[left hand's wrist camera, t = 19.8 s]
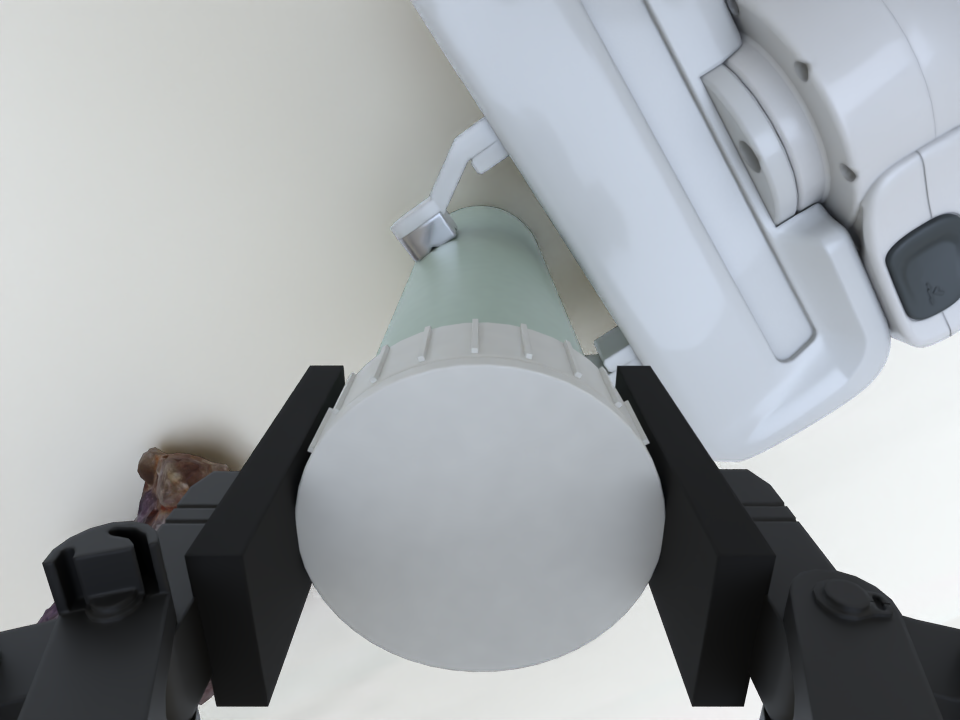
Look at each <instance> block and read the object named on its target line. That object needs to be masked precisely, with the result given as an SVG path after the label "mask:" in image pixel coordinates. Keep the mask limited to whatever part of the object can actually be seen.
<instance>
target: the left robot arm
mask: <svg viewBox="0 0 960 720" xmlns="http://www.w3.org/2000/svg"><path fill="white" fill-rule="evenodd" d="M344 386H345V378H344V367H343V366H310V367H309V368H308V370H307V371H306V373H305V374H304V376H303V377H302V379H301V380H300V382H299V383H298V385H297V386H296V388H295V389H294V391H293V392H292V394H291V395H290V397H289V398H288V400H287V401H286V403H285V404H284V406H283V407H282V409H281V410H280V412H279V413H278V415H277V416H276V418H275V419H274V421H273V422H272V424H271V425H270V427H269V429H268V430H267V432H266V433H265V435H264V436H263V438H262V439H261V441H260V442H259V444H258V445H257V447H256V448H255V450H254V451H253V453H252V454H251V456H250V457H249V459H248V460H247V462H246V463H245V465H244V466H243V468H242V469H241V471H213V472H212V473H210V474H209V475H207V476H206V477H204V478H203V479H201V480H200V481H198V482H197V483H195V484H194V485H192V486H191V487H190V488H189V489H188V491H187V492H186V493H185V495H184V496H183V497H182V499H181V500H180V501H179V502H178V504H177V508H174V509H173V510H172V512H171V513H170V514H169V515H168V517H167V518H166V519H165V524H162V525H161V526H160V527H159V529H158V530H157V531H156V530H155V529H153V528H152V527H151V526H150V525H148V524H144V523H139V522H134V521H126V522H112V523H108V524H105V525H101V526H97V527H93V528H90V529H88V530H86V531H83V532H81V533H79V534H77V535H75V536H72V537H70V538H69V539H67V540H66V541H65V542H63V543H62V544H60V545H59V546H58V547H56V548H55V549H53V550H52V551H51V553H50V554H49V555H48V557H47V558H46V559H45V560H44V562H43V563H42V564H43V567H44V570H45V574H46V577H47V580H48V583H49V586H50V589H51V592H52V595H53V599H54V602H55V605H56V608H57V611H58V614H59V615H58V618H57V619H53V620H50V621H47V622H42V623H38V624H34V625H29V626H25V627H20V628H16V629H11V630H7V631H2V632H0V720H200V715H199V711H198V704H199V702H200V700H201V698H202V696H203V694H204V692H205V690H206V688H207V685H208V683H209V681H210V679H211V683H212V687H213V692H214V697H215V701H216V706H217V707H268V705H269V703H270V700H271V697H272V694H273V691H274V689H275V686H276V683H277V680H278V677H279V674H280V672H281V669H282V666H283V663H284V660H285V658H286V655H287V652H288V649H289V646H290V643H291V641H292V638H293V635H294V632H295V629H296V627H297V624H298V621H299V618H300V615H301V612H302V610H303V607H304V604H305V601H306V598H307V596H308V593H309V590H310V587H311V584H312V581H311V579H310V577H309V575H308V573H307V571H306V569H305V567H304V563H303V560H302V557H301V554H300V550H299V543H298V535H297V528H296V519H295V505H296V499H297V493H298V487H299V484H300V481H301V477H302V474H303V471H304V468H305V466H306V464H307V462H308V460H309V458H310V456H311V454H312V453H311V452H308V448H309V446H310V444H311V442H312V440H313V438H314V436H315V434H316V432H317V430H318V428H319V426H320V424H321V422H322V420H323V419H324V417H325V415H326V413H327V411H328V409H329V407H330V408H332V409H333V408H334V406H335V404H336V402H337V400H338V398H339V396H340V394H341V392H342V390H343V388H344ZM615 388H616V390H617V391H618V393H619V395H620V396H621V398H622V400H623V402H625V401H627V400H628V401H629V403H630V405H631V407H632V409H633V411H634V413H635V415H636V417H637V419H638V421H639V423H640V425H641V427H642V429H643V431H644V433H645V435H646V437H647V439H648V441H649V444H647V445H645V446H646V448H647V450H648V452H649V454H650V456H651V458H652V460H653V463H654V465H655V468H656V470H657V473H658V475H659V478H660V481H661V486H662V490H663V495H664V499H665V524H664V532H663V539H662V546H661V553H660V557H659V560H658V563H657V565H656V568H655V570H654V572H653V574H652V577H651V579H650V581H649V582H648V583H649V586H650V589H651V592H652V594H653V597H654V600H655V603H656V606H657V609H658V611H659V614H660V617H661V620H662V623H663V625H664V628H665V631H666V634H667V637H668V640H669V642H670V645H671V648H672V651H673V654H674V656H675V659H676V662H677V665H678V668H679V671H680V673H681V676H682V679H683V682H684V685H685V687H686V690H687V693H688V696H689V699H690V702H691V704H692V707H744V703H745V699H746V694H747V689H748V685H749V680H750V677H751V679H752V681H753V684H754V686H755V688H756V690H757V692H758V694H759V696H760V698H761V700H762V702H763V707H762V711H761V715H760V720H960V629H956V628H952V627H947V626H943V625H938V624H934V623H929V622H925V621H920V620H916V619H913V618H909V617H906V616H902V614H901V613H900V611H899V610H898V608H897V607H896V605H895V604H894V602H893V601H892V600H891V599H890V598H889V597H888V596H887V595H885V594H884V593H883V592H882V591H880V590H879V589H878V588H877V587H875V586H874V585H872V584H870V583H868V582H866V581H864V580H862V579H860V578H858V577H856V576H853V575H849V574H846V573H843V572H839V571H836V569H835V568H834V567H833V565H832V564H831V563H830V561H829V560H828V559H827V558H826V556H825V555H824V554H823V552H822V551H821V550H820V549H819V547H818V546H817V545H816V543H815V542H814V541H813V539H812V538H811V537H810V536H809V534H808V533H807V532H806V530H805V529H804V528H803V526H802V525H801V524H800V523H799V522H796V517H795V516H794V515H793V514H792V512H791V511H790V510H789V508H788V507H787V506H784V502H783V501H782V499H781V498H780V497H779V495H778V494H777V493H776V492H775V490H774V489H773V488H772V486H771V485H770V484H768V483H767V482H765V481H764V480H762V479H761V478H759V477H758V476H756V475H755V474H753V473H752V472H750V471H749V470H747V469H718V467H717V466H716V464H715V463H714V461H713V460H712V458H711V457H710V455H709V454H708V452H707V451H706V449H705V447H704V446H703V444H702V443H701V441H700V440H699V438H698V437H697V435H696V434H695V432H694V431H693V429H692V428H691V426H690V425H689V423H688V422H687V420H686V419H685V417H684V416H683V414H682V413H681V411H680V410H679V408H678V407H677V405H676V404H675V402H674V401H673V399H672V398H671V396H670V395H669V393H668V392H667V390H666V389H665V387H664V386H663V384H662V383H661V381H660V380H659V378H658V377H657V375H656V374H655V372H654V371H653V369H652V368H651V366H617V371H616V383H615Z"/></svg>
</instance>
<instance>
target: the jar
mask: <svg viewBox="0 0 960 720" xmlns="http://www.w3.org/2000/svg"><path fill="white" fill-rule="evenodd" d="M450 216H451V217H452V219H453V220H454V222H455V223H456V225H457V226H458V228H457V231H456V232H457V234H456V236H455V237H454V238H452V239H451V240H449V241H448V242H447V243H445V244H443V245H441V246H439V247H432V249H431V252H430V253H429V254H428V255H427V256H426V257H424V258H423V259H422V260H420V261H418V262H416V263H415V265H414V267H413V270H412V272H411V275H410V277H409V279H408V282H407V284H406V286H405V289H404V291H403V293H402V296H401V298H400V301H399V303H398V305H397V308H396V310H395V312H394V315H393V317H392V319H391V322H390V324H389V327H388V329H387V331H386V334H385V336H384V338H383V341H382V343H381V346H380V348H379V350H378V353H377V355H379V354H380V352H381V350H382V347H383V346H385V345H386V344H387V345H388V346H389V347H391V346H393V345H394V344H396V343H398V342H400V341H401V340H404V339H406V338H409V337H411V336H413V335H416V334H418V333H420V332H424V329H425V327H427V326H431V329H434V328H438V327H441V326H447V325H454V324H461V323H472V319H479V323H482V322H489V323H499V324H508V325H514V326H518V327H520V325H521V323H522V324H526V325H527V329H531V330H534V331H537V332H539V333H542V334H545V335H548V336H550V337H553V338H555V339H557V340H559V341H560V342H562V343H564V341H565V340H567V341H569V342H570V343H571V345H572V348H573V349H575V350H576V351H577V352H579V353H580V354H582V355H583V356H584V354H583V352H582V349H581V347H580V344H579V342H578V340H577V337H576V335H575V333H574V330H573V328H572V325H571V323H570V321H569V318H568V316H567V314H566V311H565V309H564V306H563V304H562V302H561V299H560V297H559V295H558V292H557V290H556V287H555V285H554V283H553V280H552V278H551V276H550V273H549V271H548V268H547V266H546V264H545V261H544V259H543V257H542V254H541V252H540V249H539V247H538V245H537V242H536V240H535V238H534V236H533V235H532V233H531V232H530V230H529V229H528V228H527V226H526V225H525V224H524V223H523V222H522V221H521V220H519V219H518V218H517V217H515V216H514V215H512V214H510V213H508V212H507V211H504V210H501V209H499V208H495V207H490V206H471V207H466V208H462V209H459V210H457V211H454V212H452V213H450ZM377 355H376V356H377Z"/></svg>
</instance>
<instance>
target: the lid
mask: <svg viewBox="0 0 960 720" xmlns="http://www.w3.org/2000/svg"><path fill="white" fill-rule="evenodd" d="M647 444H649V441H648V439H647V437H646V435H645V433H644V431H643V429H642V427H641V425H640V423H639V421H638V419H637V417H636V415H635V413H634V411H633V409H632V407H631V405H630V403H629V401H628V400H627V401H625V402H623V400H622V398H621V396H620V395H619V393H618V391H617V390H616V388H615V387H614V386H613V384H612V382H611V380H610V378H609V376H608V374H607V372H606V370H605V369H604V368H603V367H601V368H599V369H598V368H597V367H596V366H595V365H594V364H593V363H592V362H591V361H590V360H589V359H587V358H586V357H585V356H583V355H582V354H580V353H579V352H577V351H576V350H575V349H573V348H572V345H571V343H570V342H569V341H567V340H565V341H564V343H562V342H560V341H559V340H557V339H555V338H553V337H550V336H548V335H545V334H542V333H539V332H537V331H534V330H531V329H527V325H526V324H522V323H521V325H520V327H518V326H514V325H508V324H499V323H489V322H482V323H479V319H472V323H461V324H454V325H447V326H441V327H438V328H434V329H431V326H427V327H425V329H424V332H420V333H418V334H416V335H413V336H411V337H409V338H406V339H404V340H401V341H400V342H398V343H396V344H394V345H393V346H391V347H389V346H388V345H387V344H386V345H385V346H383V347H382V350H381V352H380V354H379V355H377V356H376V357H375V358H374V359H372V360H371V361H370V362H369V363H367V364H366V365H365V366H364V367H363V368H362V369H361V370H360V371H359V372H358V373H357V374H356V375H355V374H354V373H351V375H350V376H349V378H348V380H347V382H346V384H345V386H344V388H343V390H342V392H341V394H340V396H339V398H338V400H337V402H336V404H335V406H334V408H333V409H332V408H330V407H329V409H328V411H327V413H326V415H325V417H324V419H323V420H322V422H321V424H320V426H319V428H318V430H317V432H316V434H315V436H314V438H313V440H312V442H311V444H310V446H309V448H308V452H311V453H312V454H311V456H310V458H309V460H308V462H307V464H306V466H305V468H304V471H303V474H302V477H301V481H300V484H299V487H298V493H297V499H296V505H295V519H296V528H297V535H298V543H299V550H300V554H301V557H302V560H303V563H304V567H305V569H306V571H307V573H308V575H309V577H310V579H311V581H312V583H313V585H314V587H315V588H316V590H317V591H318V593H319V594H320V595H321V597H322V598H323V600H324V601H325V603H326V604H327V605H328V606H329V607H330V608H331V609H332V610H333V612H334V613H335V614H336V615H337V616H338V617H339V618H340V619H341V620H342V621H343V622H345V623H346V624H347V625H348V626H349V627H350V628H351V629H353V630H354V631H355V632H357V633H358V634H360V635H361V636H362V637H364V638H365V639H367V640H368V641H370V642H371V643H373V644H375V645H377V646H379V647H381V648H382V649H384V650H386V651H388V652H390V653H393V654H395V655H398V656H400V657H402V658H405V659H407V660H410V661H414V662H417V663H421V664H424V665H428V666H431V667H437V668H442V669H448V670H456V671H468V672H495V671H504V670H513V669H519V668H524V667H528V666H533V665H538V664H541V663H544V662H547V661H550V660H553V659H556V658H559V657H561V656H563V655H566V654H568V653H570V652H572V651H575V650H577V649H579V648H580V647H582V646H584V645H586V644H587V643H589V642H591V641H592V640H594V639H596V638H597V637H599V636H600V635H601V634H603V633H604V632H605V631H607V630H608V629H609V628H611V627H612V626H613V625H614V624H615V623H616V622H617V621H618V620H619V619H620V618H621V617H623V616H624V615H625V614H626V613H627V612H628V610H629V609H630V608H631V607H632V606H633V604H634V603H635V602H636V601H637V599H638V598H639V597H640V596H641V594H642V592H643V591H644V589H645V587H646V586H647V584H648V582H649V581H650V579H651V577H652V574H653V572H654V570H655V568H656V565H657V563H658V560H659V557H660V553H661V546H662V539H663V532H664V524H665V499H664V495H663V490H662V486H661V481H660V478H659V475H658V473H657V470H656V468H655V465H654V463H653V460H652V458H651V456H650V454H649V452H648V450H647V448H646V446H645V445H647Z"/></svg>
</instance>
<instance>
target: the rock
mask: <svg viewBox="0 0 960 720" xmlns="http://www.w3.org/2000/svg"><path fill="white" fill-rule="evenodd" d="M213 471H230V470H229V468H228V466H227V465H225V464H220V463H214V462H210V461H208V460H206V459H204V458H202V457H199V456H195V455H191V454H184V453H174V454H166V453H164V452H162V451H160V450H159V449H157V448H151V449H149V450H148V451H147V452H146V453H144V454H143V455H142V457H141V459H140V461H139V464H138V473H139V475H140V477H141V478H142V479H143V480H144V481H145V484H144V489H143V493H142V497H141V500H140V504H139V510H138V516H137V518H136V519H135V520H134V522H139V523H144V524H148V525H150V526H151V527H152V528H153V529H155V530H156V531H157V530H158V529H159V527H160V526H161V525H162V524H165V519H166V518H167V517H168V515H169V514H170V513H171V512H172V510H173V509H174V508H177V504H178V502H179V501H180V500H181V499H182V497H183V496H184V495H185V493H186V492H187V491H188V489H189V488H190V487H191V486H192V485H194V484H195V483H197V482H198V481H200V480H201V479H203V478H204V477H206V476H207V475H209V474H210V473H212V472H213ZM58 615H59V614H58V611H57V608H56V605H55V602H54V603H53V605H52V606H51V607H50V608H49V609H47V610H46V611H45V613H44V614H43V616H42V617H41V619H40V620H39V622H38V623H42V622H47V621H50V620H53V619H57V618H58ZM38 623H37V624H38ZM213 695H214V692H213V687H212V683H211V679H210V681H209V683H208V685H207V688H206V690H205V692H204V694H203V696H202V698H201V700H200V702H199V704H200V705H202V704H203V703H205V702H206V701H207V700H208V699H210V698H211V697H212V696H213Z"/></svg>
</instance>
